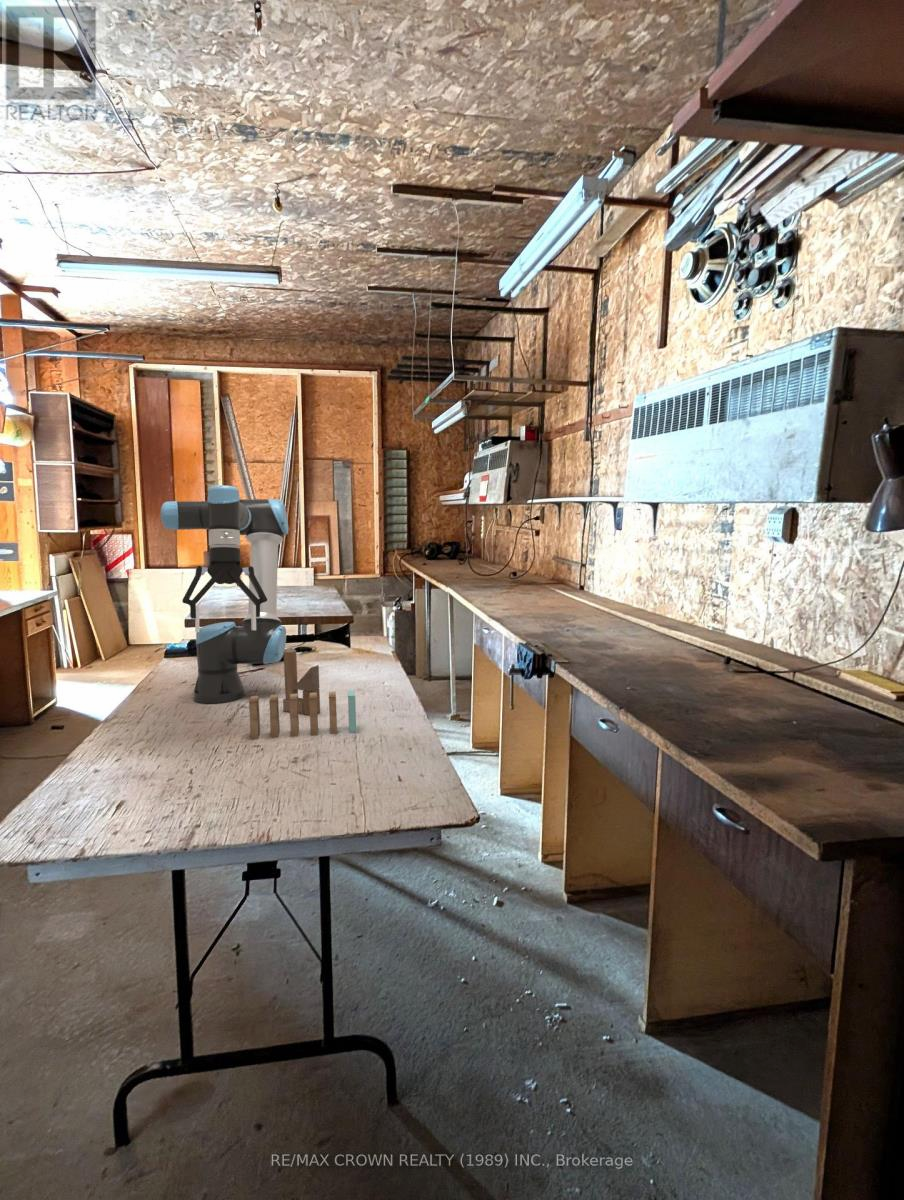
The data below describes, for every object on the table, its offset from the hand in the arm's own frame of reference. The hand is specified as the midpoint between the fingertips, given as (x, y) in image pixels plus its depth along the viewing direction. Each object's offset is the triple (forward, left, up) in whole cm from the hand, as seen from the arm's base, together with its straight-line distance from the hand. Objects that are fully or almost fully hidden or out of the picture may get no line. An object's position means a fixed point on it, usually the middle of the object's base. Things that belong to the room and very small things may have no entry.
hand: (226, 631), depth 165 cm
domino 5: (-9, +24, -28) cm, 38 cm away
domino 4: (-7, +20, -28) cm, 35 cm away
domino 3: (-5, +15, -28) cm, 32 cm away
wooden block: (-23, +10, -28) cm, 37 cm away
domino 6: (-10, +29, -28) cm, 42 cm away
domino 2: (-3, +10, -28) cm, 30 cm away
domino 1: (-2, +6, -28) cm, 28 cm away
